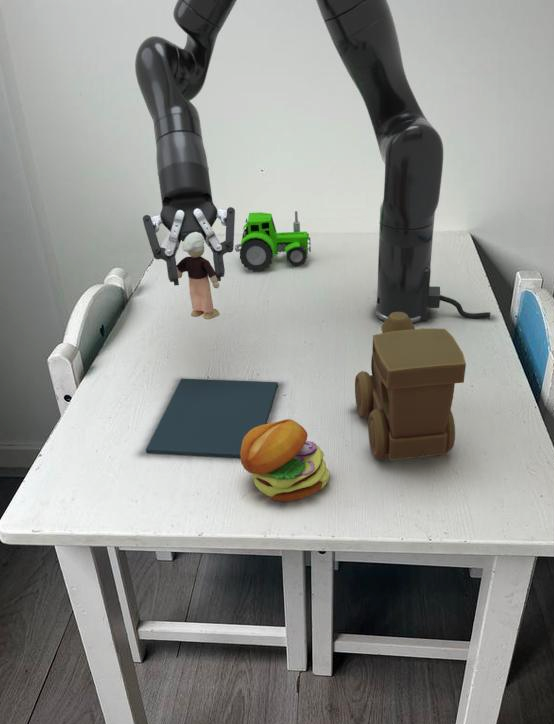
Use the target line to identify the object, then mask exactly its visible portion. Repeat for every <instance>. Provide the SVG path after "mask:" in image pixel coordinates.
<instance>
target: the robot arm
mask: <svg viewBox="0 0 554 724" xmlns="http://www.w3.org/2000/svg"><path fill="white" fill-rule="evenodd" d="M237 1H238V0H177V1H176V3H175V4H174V5H175V6H174V8H173V12H172V15H173V19H174V21H175V23H176V25H177V26H178V27H179V28H180V29H181V30H182V31H183V32H184V33H185V34H186V41H185V44H184V47H181V46H179V45H177V44H176V43H173V42H172V41H170V40H168V39H167V38H164V37H161V36H159V35H158V36H157V35H155V36H149V37H147V38H145V39H144V40H143V41H142V42H141V43H140V45H139V47H138V48H137V51H136V54H135V61H134V71H135V77H136V81H137V85H138V88H139V90H140V94H141V95H142V98H143V100H144V103H145V105H146V108H147V110H148V113H149V115H150V117H151V119H152V123H153V131H154V138H155V145H156V167H157V168H156V169H157V176H158V184H159V190H160V199H161V211H160V214H157V215H154V216H150V215H149V214H145V215H143V217H142V222H143V226H144V231H145V233H146V237H147V239H148V242H149V245H150V249H151V253H152V255H153V258H154V259H155V260H162V261H164V262H165V263H166V270H167V276H168V277H167V278H168V281H169V282H170V283H173V285H174V287H175V286H180V281H179V278H178V273H177V260H176V259H177V258H176V256H177V252H178V251H179V248H180V245H181V242H184V240H185V238H186V237H187V236H188V235H189V234H190V233H194V232H198V233H201V234H202V236H203V237H204V242H205V244H206V246H207V247H209V250H211V252H212V260H213V261H212V262H213V269H214V271H215V273H216V277H217V279H218V282H221V280H222V278H224V277H225V273H226V272H225V270H226V269H225V263H224V255H226V254H227V253H232V252H233V251H234V248H235V245H234V242H235V225H236V224H235V222H236V209H235V208H234V207H232V206H230V207H228V208H227V209H219V208H218V209H217V206H216V205H215V204H214V201H213V194H212V186H211V180H210V179H211V178H210V171H209V170H210V168H209V165H208V158H207V152H206V149H205V145H204V141H203V133H202V132H203V131H202V125H201V118H200V115H199V111H198V109H197V107H196V106H195V105H194V104H193V103H192V102H191V101H192V100H194V99H195V98H196V97H197V96H198V95H199V94H200V93H201V91H202V89H203V88H204V85H205V82H206V79H207V75H208V72H209V68H210V63H211V60H212V56H213V53H214V50H215V45H216V42H217V39H218V36H219V34H220V32H221V30H222V28H223V27H224V25H225V23H226V22H227V20H228V18H229V16H230V14H231V12H232V10H233V9H234V7H235V5H236V3H237ZM315 1H316V4H317V7H318V10H319V12H320V16H321V18H322V20H323V23H324V24H325V27H326V30H327V32H328V34H329V36H330V40H331V41H332V43H333V46H334V48H335V50H336V52H337V54H338V56H339V58H340V60H341V62H342V64H343V66H344V68H345V69H346V71H347V74H348V75H349V77H350V79H351V80H352V82H353V83H354V85H355V87H356V89H357V90H358V92H359V95H360V96H361V98H362V100H363V102H364V105H365V107H366V110H367V113H368V117H369V119H370V122H371V126H372V128H373V133H374V135H375V139H376V142H377V146H378V150H379V154H380V157H381V161H382V162H383V163H384V185H383V198H382V202H381V204H380V208H379V228H378V229H379V231H378V259H377V260H378V261H377V286H376V287H377V290H376V306H375V315H376V316H377V318H378V319H380V320H382V321H383V322H385V321H386V319H387V318H388V316H389V315H390V314H391V313H393V312H403V313H405V314H407V315H408V317H409V318H410V320H411V321H412V323H413V324H415V323H418V322H426V321H427V320H428V310H429V309H440V303H441V302H443V303H448V304H450V305H452V306H454V307H455V308H456V310H457V312H458V314H459V315H460V316H462V317H463V318H467V319H483V318H491V312H489V311H488V312H487V311H486V312H478V313H477V312H475V313H470V312H467V311H465V310H464V308H463V306H462V303H460V302H458V301H457V300H456V299H453V298H452V297H448V296H445V295H442V294H441V286H435V285H434V286H433V285H431V286H430V284H431V272H432V265H431V263H432V253H433V241H434V240H433V239H434V226H435V216H436V211H437V209H438V206H439V202H440V197H441V196H440V195H441V187H442V178H443V168H444V144H443V140H442V137H441V135H440V134H439V132H438V131H437V130H436V128H435V127H434V126H433V125H432V124H431V123H430V121H428V118H427V117H426V116H425V114H424V112H423V110H422V109H421V106H420V105H419V102H418V101H417V99H416V96H415V95H414V92H413V89H412V88H411V86H410V83H409V80H408V78H407V75H406V72H405V68H404V63H403V59H402V52H401V46H400V42H399V37H398V33H397V29H396V24H395V20H394V18H393V17H394V16H393V14H392V11H391V7H390V4H389V2H388V0H315ZM217 219H219V220H220V223H221V225H222V226H224V227H225V240H224V241H222V242H220V240H219V239H218V237H217V235H216V233H215V231H214V230H213V226H214V224H215V222H216V221H217ZM161 224H162V225H163V226H164V227H165V228H166V229H167V230H168V231H169V234H168V241H167V244H166V247H161V245H160V242H159V239H158V236H157V233H158V232H159V231H160V225H161Z"/></svg>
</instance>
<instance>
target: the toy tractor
mask: <svg viewBox="0 0 554 724" xmlns="http://www.w3.org/2000/svg"><path fill="white" fill-rule="evenodd" d="M298 215H299V214H298V211H294V221H293V223H292V225H293V227H292V228H293V231H286V232H285V231H284V232H277V229H276V225H275V221H274V218H273V214H272V213H268V212H262V211H261V212H249V213H248V217H247V218H245V224H244V225H243V228H242V236H241V239H240V243H238V244H237V243H236V244H235V245H234V251H235V252H238V253H239V260H240V262H241V264H242V265H243V267H244V268H246V269H247V270H248V271H252V272H253V273H256V272H257V273H260V272H261V271H265V270H266V269H268V268H269V267H270V265H271V264H272V261H273V258H274V256H276V255H278V254H279V253H285V254H286V256H285V258H286V262H288V265H290V266H293V267H300V266H302V265H304V264H305V263H306V261H307V258H308V253H309V252H312V246H311V245H312V243H311V236H310V234H309V233H308V231H301V223H300V221H299V219H298V218H299V217H298Z"/></svg>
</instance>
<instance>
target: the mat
mask: <svg viewBox="0 0 554 724" xmlns="http://www.w3.org/2000/svg"><path fill="white" fill-rule="evenodd" d="M278 385H279V383H278V381H261V380H260V381H259V380H258V381H256V380H234V379H233V380H232V379H231V380H230V379H204V378H203V379H202V378H180V380H179V382H178V385H177V387H176V389H175V391H174V393H173V395H172V397H171V399H170V401H169V402H168V405H167V407H166V408H165V410H164V412H163V414H162V417H161V419H160V421H158V424H157V426H156V429H155V430H154V432H153V434H152V437H151V438H150V440H149V442H148V444H147V446H146V448H145V453H146V454H162V455H178V456H179V455H180V456H196V457H197V456H198V457H199V456H201V457H215V458H232V459H233V458H235V459H241V455H240V452H241V446H242V441H243V439H244V437H245V436H246V434H247V433H248V432H249V431H250V430H252V429H253V428H255V427H258V426H261V425H264V424H268V423H267V422H268V419H269V416H270V412H271V409H272V406H273V403H274V399H275V396H276V393H277V389H278Z"/></svg>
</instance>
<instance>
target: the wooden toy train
mask: <svg viewBox="0 0 554 724" xmlns="http://www.w3.org/2000/svg"><path fill="white" fill-rule="evenodd" d="M370 358H371V359H370V361H371V362H370V363H371V364H370V370H371V374H370V373H369V372H367V371H364V370H361V371H359V372H358V373H357V374H356V376H355V378H354V395H355V396H354V397H355V405H356V410H357V413H358V415H359V417H361V418H363V419H365V420H367V419H368V421H367V430H368V431H367V432H368V442H369V448H370V451H371V454H372V456H373V457H374V458H375V459H376V460H380V461H382V460H385V459H386V458H387V457H388V458H389V460H390V461H393V460H394V461H395V460H404V459H405V460H406V459H414V458H424V457H425V458H426V457H434V456H435V457H436V456H442V455H443V456H444V455H446V454H447V453H449V452H450V451H451V450H453V447H454V445H455V441H456V425H455V419H454V414H453V411H452V405H453V400H454V393H455V386H456V385H455V384H463V383H465V376H466V368H467V367H466V366H467V363H466V359H465V356H464V353H463V350H462V349H461V347H460V346H459V344H458V342H457V341H456V339H455V338H454V336H453V335H452V334H451V333H450V332H449V331H448V330H447V329H445V328H427V327H426V328H425V327H424V328H423V327H422V328H416V327H415V323H412V321H411V320H410V318H409V317H408V315H407V314H405V313H403V312H393V313H391V314H390V315H389V316H388V318H387V319H386V321H383V323H382V325H381V333H377V334H373V335H372V354H371V357H370Z"/></svg>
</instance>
